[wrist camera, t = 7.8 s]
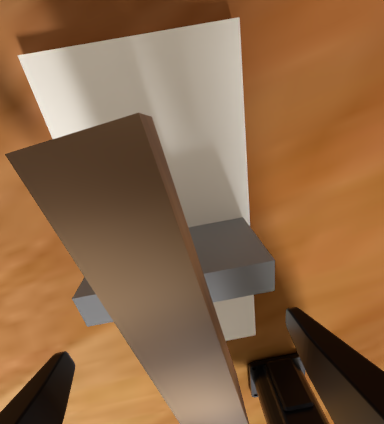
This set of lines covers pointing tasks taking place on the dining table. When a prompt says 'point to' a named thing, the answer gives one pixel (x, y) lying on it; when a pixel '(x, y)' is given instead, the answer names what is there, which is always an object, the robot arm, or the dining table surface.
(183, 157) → the balance stand
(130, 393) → the dining table surface
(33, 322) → the dining table surface
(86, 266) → the walnut bar
